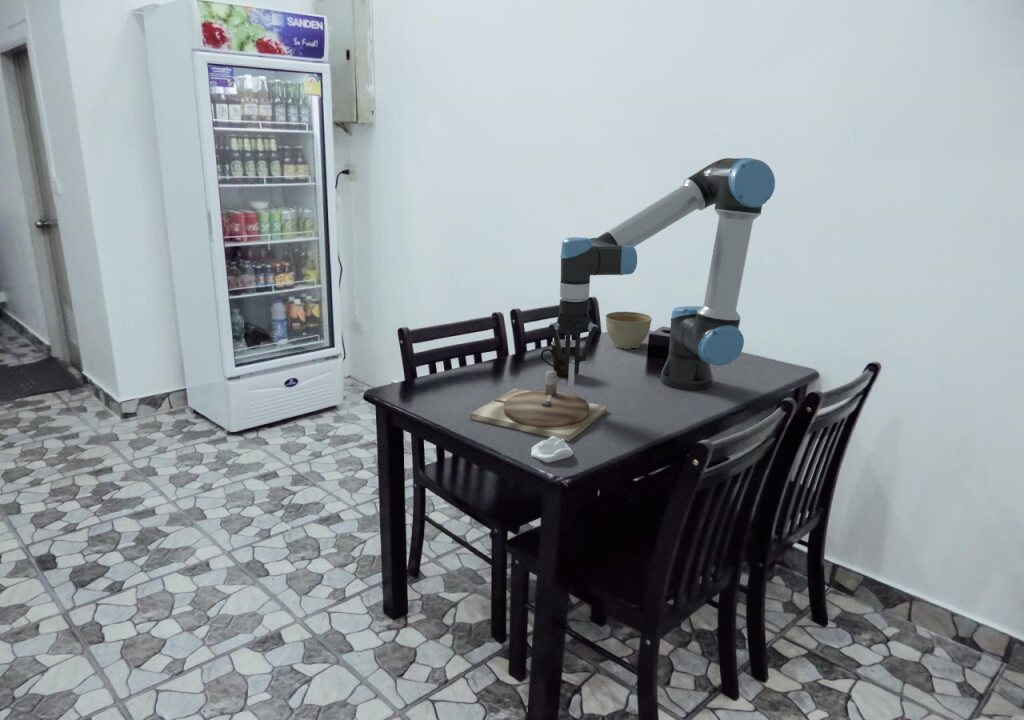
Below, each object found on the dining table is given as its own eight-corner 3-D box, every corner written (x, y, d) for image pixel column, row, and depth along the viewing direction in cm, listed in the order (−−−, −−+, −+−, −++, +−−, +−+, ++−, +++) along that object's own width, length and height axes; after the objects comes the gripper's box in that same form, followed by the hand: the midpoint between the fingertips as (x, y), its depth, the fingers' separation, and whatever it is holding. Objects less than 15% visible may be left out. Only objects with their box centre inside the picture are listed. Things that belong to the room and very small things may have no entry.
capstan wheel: (585, 430, 163) (587, 400, 161) (496, 423, 167) (496, 394, 165) (591, 399, 184) (593, 372, 182) (512, 394, 187) (512, 367, 185)
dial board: (606, 411, 180) (606, 405, 179) (568, 441, 160) (569, 434, 160) (514, 393, 193) (514, 387, 192) (470, 418, 174) (470, 412, 173)
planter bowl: (603, 351, 236) (604, 320, 233) (605, 339, 251) (606, 310, 248) (650, 353, 233) (652, 322, 230) (649, 341, 248) (651, 312, 245)
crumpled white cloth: (568, 449, 146) (525, 443, 149) (568, 467, 148) (525, 462, 150) (578, 431, 155) (537, 426, 158) (577, 449, 157) (536, 444, 159)
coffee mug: (578, 370, 214) (579, 340, 211) (578, 379, 206) (579, 347, 203) (541, 369, 215) (542, 338, 212) (539, 377, 207) (540, 346, 204)
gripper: (599, 296, 178) (595, 382, 184) (550, 294, 179) (548, 379, 186) (599, 302, 170) (595, 391, 177) (547, 300, 172) (545, 388, 179)
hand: (571, 385), depth 182 cm, fingers closed
